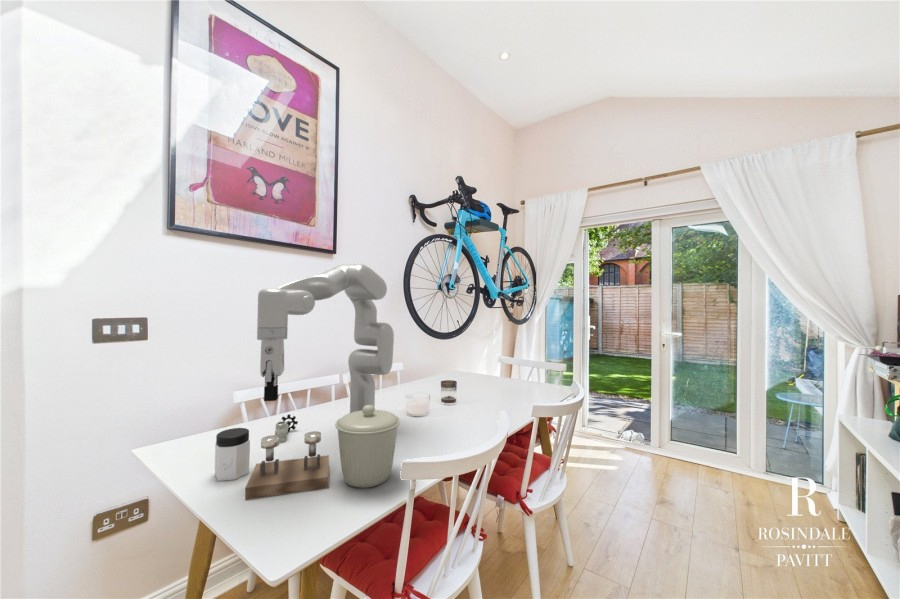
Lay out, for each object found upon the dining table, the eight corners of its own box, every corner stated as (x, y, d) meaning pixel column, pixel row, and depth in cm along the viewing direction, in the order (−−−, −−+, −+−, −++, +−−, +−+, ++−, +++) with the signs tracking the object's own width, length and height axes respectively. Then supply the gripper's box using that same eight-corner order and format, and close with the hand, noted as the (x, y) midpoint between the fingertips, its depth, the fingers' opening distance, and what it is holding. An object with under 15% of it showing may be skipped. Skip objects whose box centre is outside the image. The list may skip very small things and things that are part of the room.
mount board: (328, 465, 109) (329, 445, 109) (328, 487, 96) (328, 465, 96) (255, 474, 102) (256, 453, 103) (244, 499, 89) (245, 476, 89)
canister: (346, 463, 110) (347, 395, 110) (403, 465, 110) (405, 397, 110) (323, 494, 92) (325, 414, 92) (392, 497, 92) (394, 416, 92)
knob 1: (279, 455, 100) (280, 434, 100) (277, 462, 96) (277, 440, 96) (262, 457, 99) (262, 436, 99) (259, 464, 95) (259, 442, 95)
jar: (208, 482, 97) (209, 439, 97) (220, 469, 105) (221, 428, 105) (244, 479, 99) (245, 436, 99) (253, 466, 107) (254, 426, 107)
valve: (289, 443, 125) (297, 430, 137) (289, 424, 125) (298, 413, 137) (269, 444, 124) (279, 431, 136) (269, 425, 124) (280, 414, 136)
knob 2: (320, 451, 104) (321, 430, 104) (320, 457, 100) (320, 436, 100) (304, 452, 102) (305, 432, 102) (303, 459, 98) (304, 437, 98)
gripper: (284, 336, 92) (282, 406, 92) (290, 331, 106) (288, 392, 106) (251, 336, 89) (249, 409, 89) (262, 331, 104) (260, 394, 103)
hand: (270, 399), depth 97 cm, fingers closed
